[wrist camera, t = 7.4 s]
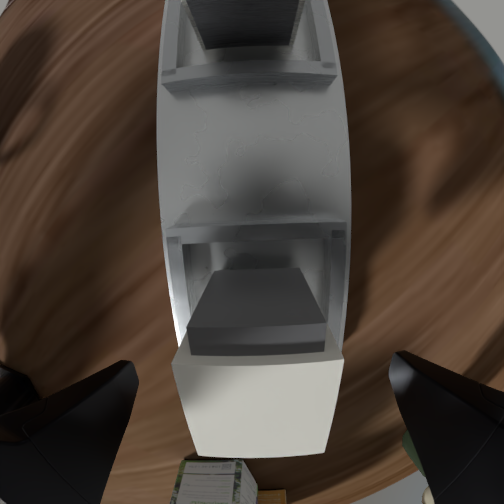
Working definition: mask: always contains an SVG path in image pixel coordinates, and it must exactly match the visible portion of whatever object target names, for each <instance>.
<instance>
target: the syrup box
mask: <svg viewBox="0 0 504 504" xmlns="http://www.w3.org/2000/svg"><path fill="white" fill-rule="evenodd" d="M170 504H258V485H257V483H256V481H255V480H254V478H253V476H252V475H251V473H250V471H249V469H248V468H247V466H246V464H245V463H244V461H243V459H235V460H182V461H181V464H180V467H179V471H178V475H177V479H176V482H175V486H174V489H173V493H172V497H171V501H170Z"/></svg>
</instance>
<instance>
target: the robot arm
mask: <svg viewBox="0 0 504 504" xmlns="http://www.w3.org/2000/svg"><path fill="white" fill-rule="evenodd" d="M389 379H390V382H391V385H392V388H393V391H394V394H395V398H396V401H397V404H398V407H399V410H400V413H401V415H402V418H403V420H404V422H405V425H406V427H407V430H408V432H409V434H410V437H411V439H412V442H413V444H414V447H415V450H416V452H417V455H418V457H419V460H420V463H421V465H422V468H423V471H424V474H425V476H426V479H427V482H428V485H429V488H430V491H431V494H432V497H433V500H434V504H504V392H502V391H499V390H496V389H494V388H491V387H488V386H486V385H484V384H481V383H478V382H476V381H474V380H472V379H469V378H467V377H464V376H462V375H460V374H457V373H455V372H453V371H450V370H448V369H446V368H443V367H441V366H439V365H437V364H434V363H432V362H430V361H428V360H425V359H423V358H421V357H419V356H416V355H414V354H412V353H410V352H407V351H405V350H403V351H398V352H395V353H394V354H393V356H392V360H391V364H390V368H389ZM138 386H139V379H138V376H137V373H136V370H135V367H134V364H133V362H131V361H127V360H120V361H118V362H116V363H114V364H113V365H111V366H109V367H107V368H105V369H103V370H101V371H99V372H97V373H95V374H93V375H91V376H89V377H87V378H85V379H83V380H81V381H79V382H77V383H75V384H73V385H71V386H69V387H67V388H65V389H63V390H61V391H59V392H57V393H55V394H52V395H50V396H49V397H46V398H44V399H42V400H40V399H39V397H38V396H37V394H36V392H35V390H34V388H33V386H32V384H31V382H30V380H29V379H28V378H27V377H26V376H25V375H23V374H20V373H18V372H15V371H13V370H11V369H8V368H6V367H4V366H2V365H0V504H100V502H101V499H102V496H103V492H104V489H105V486H106V483H107V480H108V477H109V474H110V471H111V469H112V466H113V463H114V460H115V457H116V454H117V452H118V449H119V446H120V443H121V441H122V438H123V435H124V433H125V430H126V427H127V425H128V422H129V419H130V416H131V412H132V408H133V404H134V401H135V397H136V393H137V389H138Z"/></svg>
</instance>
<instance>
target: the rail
mask: <svg viewBox="0 0 504 504" xmlns="http://www.w3.org/2000/svg"><path fill="white" fill-rule="evenodd" d="M157 167H158V188H159V203H160V216H161V227H162V238H163V247H164V256H165V264H166V272H167V279H168V286H169V293H170V300H171V306H172V312H173V318H174V323H175V329H176V334H177V340H178V345H179V346H180V344H181V342H182V340H183V337H184V335H185V333H186V331H187V329H186V326H187V324H188V322H189V320H190V318H191V316H192V314H193V312H194V310H195V308H196V306H197V304H198V302H199V300H200V298H201V296H202V294H203V292H204V290H205V288H206V286H207V284H208V282H209V280H210V278H211V276H212V274H213V272H214V271H217V270H249V269H277V268H300V270H301V272H302V274H303V276H304V277H305V279H306V281H307V283H308V285H309V287H310V289H311V291H312V293H313V295H314V297H315V299H316V301H317V303H318V305H319V307H320V309H321V311H322V313H323V315H324V318H325V320H326V322H327V324H328V326H329V328H330V330H331V332H332V334H333V336H334V338H335V340H336V343H337V345H338V347H339V349H340V351H341V352H342V345H343V337H344V328H345V319H346V309H347V298H348V286H349V270H350V250H351V171H350V151H349V136H348V124H347V113H346V104H345V95H344V87H343V80H342V73H341V66H340V60H339V54H338V48H337V43H336V38H335V33H334V28H333V23H332V19H331V14H330V10H329V6H328V2H327V0H165V6H164V14H163V22H162V30H161V40H160V52H159V66H158V85H157Z"/></svg>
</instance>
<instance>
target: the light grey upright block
mask: <svg viewBox="0 0 504 504" xmlns="http://www.w3.org/2000/svg"><path fill="white" fill-rule="evenodd" d="M186 329H187V331H186V333H185V335H184V337H183V340H182V342H181V344H180V346H179V348H178V350H177V352H176V355H175V357H174V359H173V361H172V363H171V365H172V369H173V373H174V377H175V381H176V385H177V388H178V392H179V396H180V399H181V403H182V406H183V410H184V413H185V417H186V420H187V423H188V426H189V429H190V433H191V436H192V439H193V442H194V445H195V447H196V450H197V453H198V456H210V457H227V458H272V457H289V456H301V455H310V454H318V453H324V452H325V448H326V444H327V440H328V437H329V433H330V428H331V424H332V420H333V416H334V411H335V406H336V402H337V397H338V392H339V386H340V381H341V375H342V370H343V364H344V358H343V355H342V353H341V351H340V349H339V347H338V345H337V343H336V340H335V338H334V336H333V334H332V332H331V330H330V328H329V326H328V324H327V322H326V320H325V318H324V315H323V313H322V311H321V309H320V307H319V305H318V303H317V301H316V299H315V297H314V295H313V293H312V291H311V289H310V287H309V285H308V283H307V281H306V279H305V277H304V276H303V274H302V272H301V270H300V268H277V269H249V270H217V271H214V272H213V274H212V276H211V278H210V280H209V282H208V284H207V286H206V288H205V290H204V292H203V294H202V296H201V298H200V300H199V302H198V304H197V306H196V308H195V310H194V312H193V314H192V316H191V318H190V320H189V322H188V324H187V326H186Z"/></svg>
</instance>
